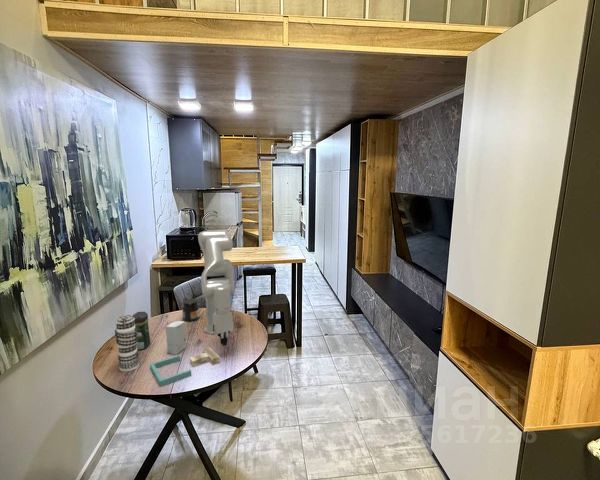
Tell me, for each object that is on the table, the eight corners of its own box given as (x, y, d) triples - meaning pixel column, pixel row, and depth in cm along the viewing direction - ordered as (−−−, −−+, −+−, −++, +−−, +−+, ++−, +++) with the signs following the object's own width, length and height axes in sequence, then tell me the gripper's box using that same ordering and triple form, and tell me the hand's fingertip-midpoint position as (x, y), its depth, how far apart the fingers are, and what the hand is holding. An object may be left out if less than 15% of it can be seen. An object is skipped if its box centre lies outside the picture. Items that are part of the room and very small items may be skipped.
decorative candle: (119, 363, 156) (115, 314, 152) (141, 359, 159) (136, 312, 155) (116, 373, 148) (111, 322, 144) (139, 369, 151) (134, 319, 147)
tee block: (210, 352, 167) (210, 347, 166) (219, 362, 157) (219, 356, 157) (187, 360, 160) (186, 354, 159) (195, 370, 150) (195, 365, 150)
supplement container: (202, 318, 209) (201, 301, 207) (187, 323, 202) (185, 305, 200) (195, 314, 217) (194, 297, 215) (180, 318, 209) (179, 301, 207)
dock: (179, 359, 160) (179, 354, 159) (191, 375, 146) (191, 370, 146) (150, 368, 152) (149, 363, 151) (160, 386, 138) (159, 381, 138)
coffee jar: (136, 342, 177) (134, 310, 174) (151, 341, 178) (149, 309, 175) (130, 351, 168) (127, 317, 165) (146, 350, 169) (143, 316, 166)
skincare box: (176, 354, 164) (174, 327, 162) (166, 353, 166) (164, 326, 164) (186, 347, 172) (185, 321, 170) (177, 345, 174) (175, 319, 171)
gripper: (232, 304, 168) (234, 337, 171) (205, 311, 159) (207, 346, 162) (239, 308, 162) (240, 342, 165) (211, 315, 153) (212, 351, 156)
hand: (224, 344), depth 163 cm, fingers closed
